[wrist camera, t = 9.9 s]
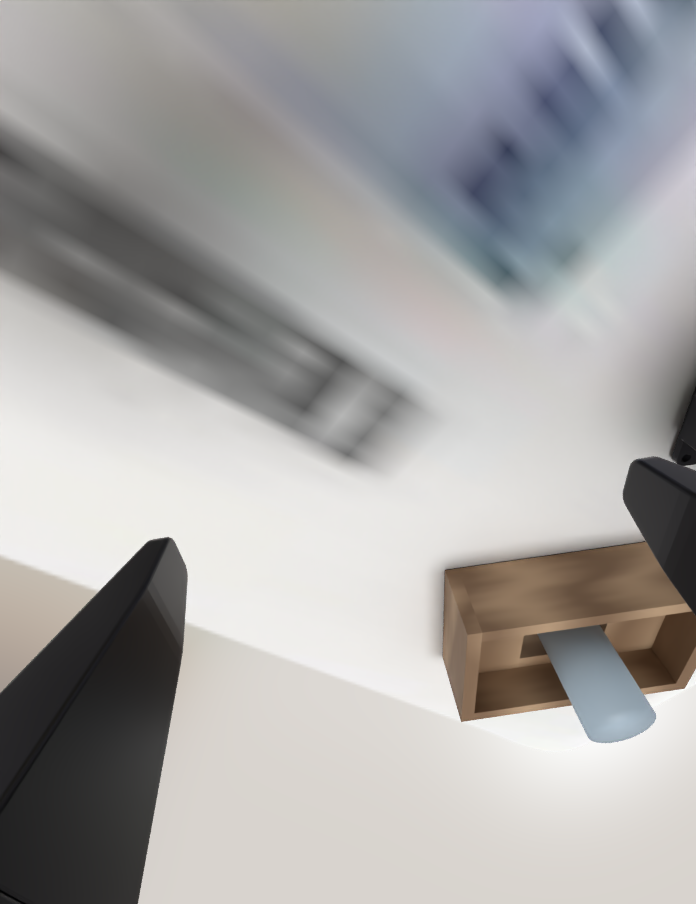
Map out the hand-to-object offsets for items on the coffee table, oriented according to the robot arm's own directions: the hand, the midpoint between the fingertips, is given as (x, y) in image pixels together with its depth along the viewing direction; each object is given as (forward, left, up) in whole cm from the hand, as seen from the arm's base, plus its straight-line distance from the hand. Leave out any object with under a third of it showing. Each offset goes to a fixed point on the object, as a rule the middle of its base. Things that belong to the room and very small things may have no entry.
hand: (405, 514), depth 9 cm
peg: (-12, +21, -12) cm, 27 cm away
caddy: (-12, +21, -12) cm, 27 cm away
